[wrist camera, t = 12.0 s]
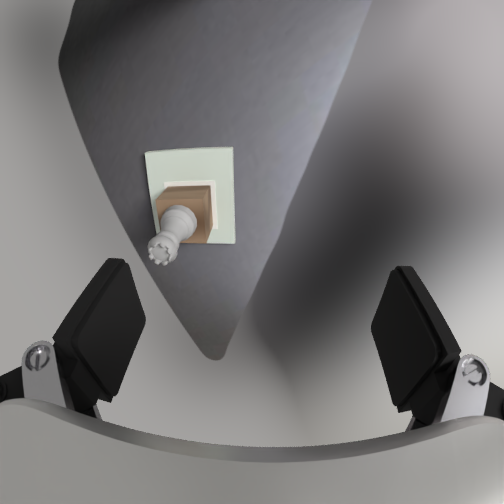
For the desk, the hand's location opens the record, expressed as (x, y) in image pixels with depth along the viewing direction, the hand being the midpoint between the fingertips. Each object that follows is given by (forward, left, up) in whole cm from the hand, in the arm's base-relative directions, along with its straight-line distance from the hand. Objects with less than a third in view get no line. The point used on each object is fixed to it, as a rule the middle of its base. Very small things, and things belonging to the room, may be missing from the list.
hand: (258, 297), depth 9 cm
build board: (+7, -10, -28) cm, 31 cm away
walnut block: (+8, -10, -27) cm, 30 cm away
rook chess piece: (+8, -10, -22) cm, 26 cm away
